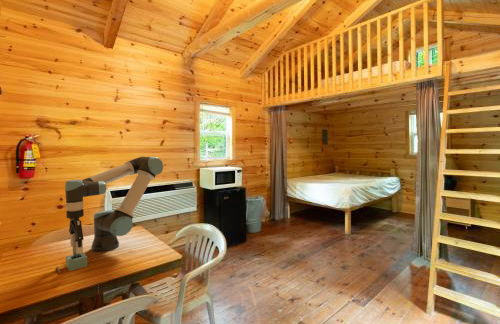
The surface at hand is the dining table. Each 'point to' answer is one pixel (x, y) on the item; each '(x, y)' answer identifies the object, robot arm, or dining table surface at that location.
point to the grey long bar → (74, 247)
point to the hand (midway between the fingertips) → (76, 249)
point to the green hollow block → (76, 262)
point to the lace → (58, 270)
